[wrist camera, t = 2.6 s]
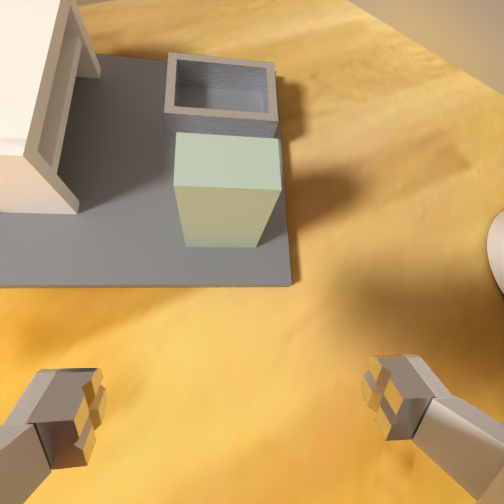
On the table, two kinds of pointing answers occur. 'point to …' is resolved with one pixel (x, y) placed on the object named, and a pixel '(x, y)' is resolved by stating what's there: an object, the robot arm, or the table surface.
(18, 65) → the gray base with shelf
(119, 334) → the table surface
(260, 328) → the table surface
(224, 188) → the tall mint green pillar
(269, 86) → the hollow rectangular frame
